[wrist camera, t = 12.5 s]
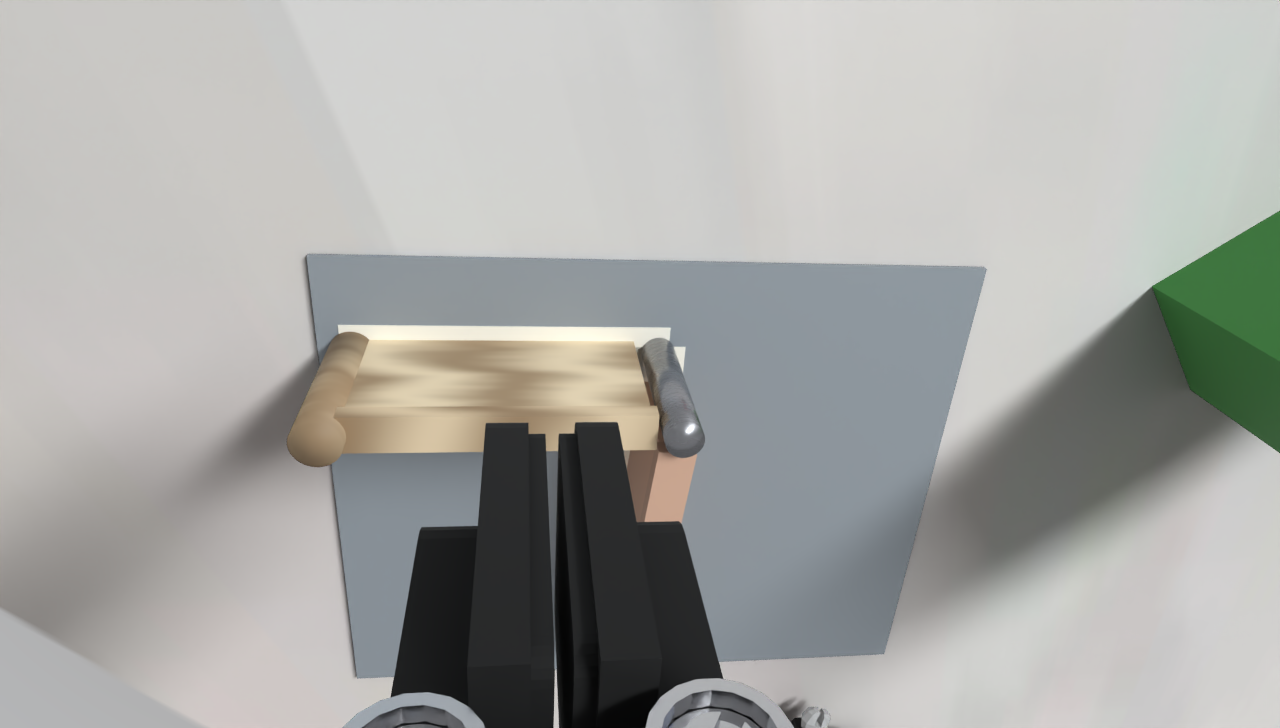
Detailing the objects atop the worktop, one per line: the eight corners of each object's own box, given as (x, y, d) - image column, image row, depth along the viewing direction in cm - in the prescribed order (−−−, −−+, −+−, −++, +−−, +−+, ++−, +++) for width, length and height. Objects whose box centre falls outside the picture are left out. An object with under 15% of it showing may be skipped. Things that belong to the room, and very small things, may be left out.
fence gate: (635, 376, 40) (654, 454, 34) (676, 380, 40) (702, 458, 35) (593, 603, 46) (603, 701, 40) (630, 604, 47) (645, 702, 41)
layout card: (358, 674, 48) (356, 679, 48) (307, 254, 37) (306, 256, 36) (882, 650, 52) (884, 654, 52) (983, 266, 41) (987, 269, 40)
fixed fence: (331, 370, 39) (290, 467, 32) (327, 330, 38) (283, 421, 31) (672, 371, 41) (702, 461, 34) (676, 333, 40) (707, 419, 33)
